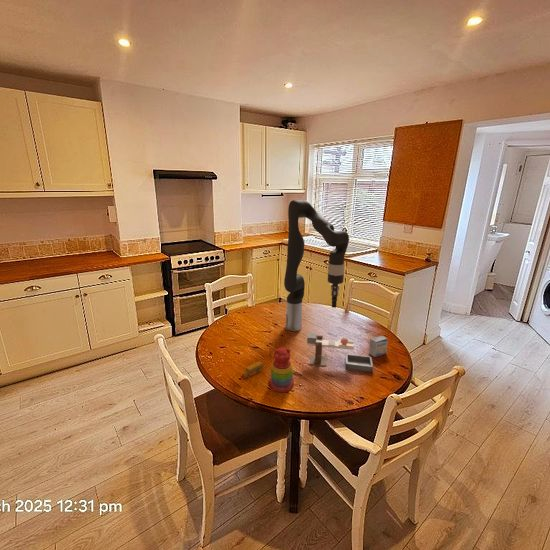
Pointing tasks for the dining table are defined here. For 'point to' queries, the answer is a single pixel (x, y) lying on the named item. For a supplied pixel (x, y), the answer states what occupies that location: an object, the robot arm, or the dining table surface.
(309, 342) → the tilt lever
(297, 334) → the dining table surface
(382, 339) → the medicine box
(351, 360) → the tray
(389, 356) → the dining table surface
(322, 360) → the fulcrum
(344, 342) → the ball
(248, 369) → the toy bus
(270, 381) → the stacking bear
